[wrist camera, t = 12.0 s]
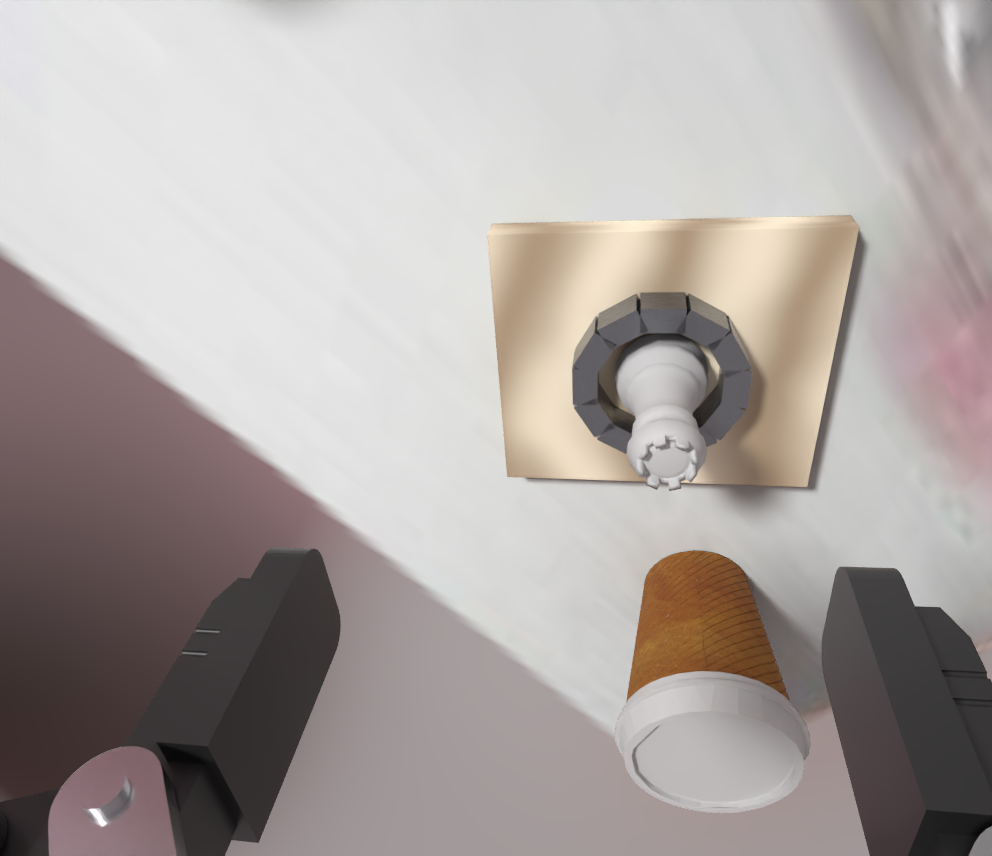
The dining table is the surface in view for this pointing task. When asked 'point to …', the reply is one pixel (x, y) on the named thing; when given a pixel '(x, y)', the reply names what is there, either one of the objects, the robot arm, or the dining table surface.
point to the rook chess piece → (663, 407)
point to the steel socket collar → (660, 317)
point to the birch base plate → (670, 268)
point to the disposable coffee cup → (707, 694)
